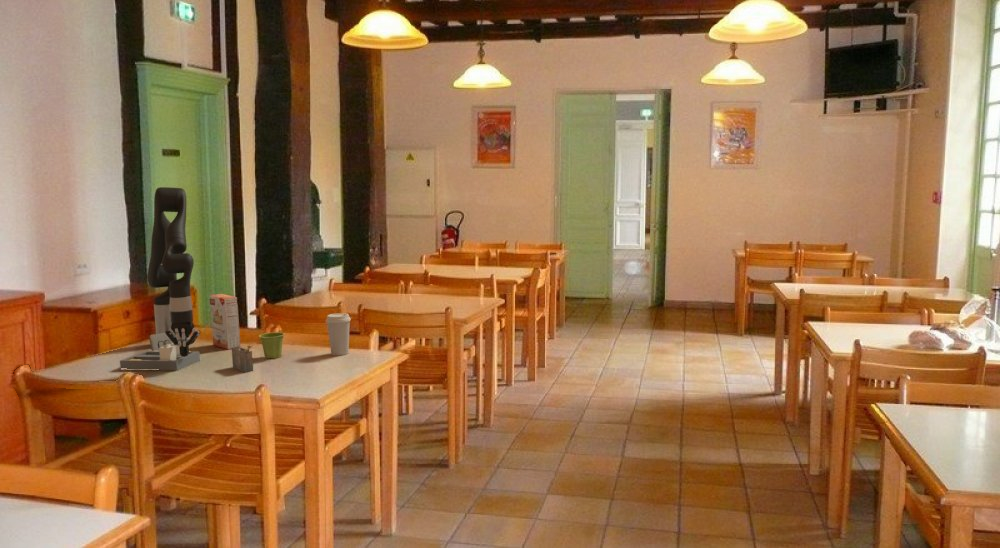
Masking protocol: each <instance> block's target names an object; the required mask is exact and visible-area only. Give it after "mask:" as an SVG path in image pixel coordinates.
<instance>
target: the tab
mask: <svg viewBox="0 0 1000 548" xmlns="http://www.w3.org/2000/svg"><path fill="white" fill-rule="evenodd" d="M159 352H160V360H177V359H176V346H171V344H167V345H164V346H163V347H161V348H159Z"/></svg>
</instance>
